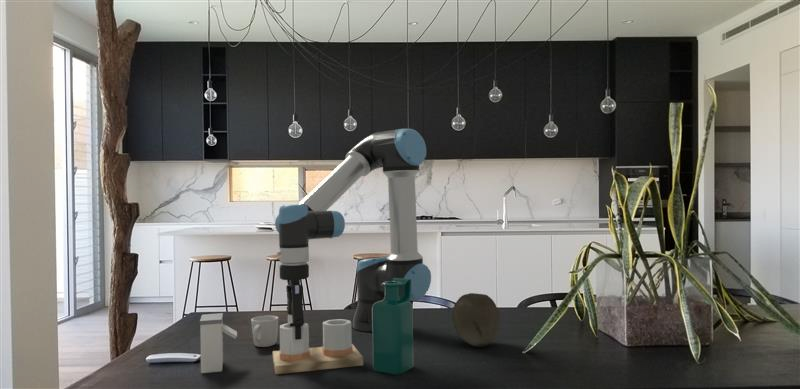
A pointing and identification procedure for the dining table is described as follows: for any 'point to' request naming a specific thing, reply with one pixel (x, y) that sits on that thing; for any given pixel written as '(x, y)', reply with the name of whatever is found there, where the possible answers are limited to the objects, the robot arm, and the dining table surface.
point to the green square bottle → (393, 328)
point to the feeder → (213, 341)
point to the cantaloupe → (476, 319)
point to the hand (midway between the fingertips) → (295, 345)
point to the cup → (264, 330)
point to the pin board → (316, 361)
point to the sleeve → (286, 343)
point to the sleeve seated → (337, 338)
